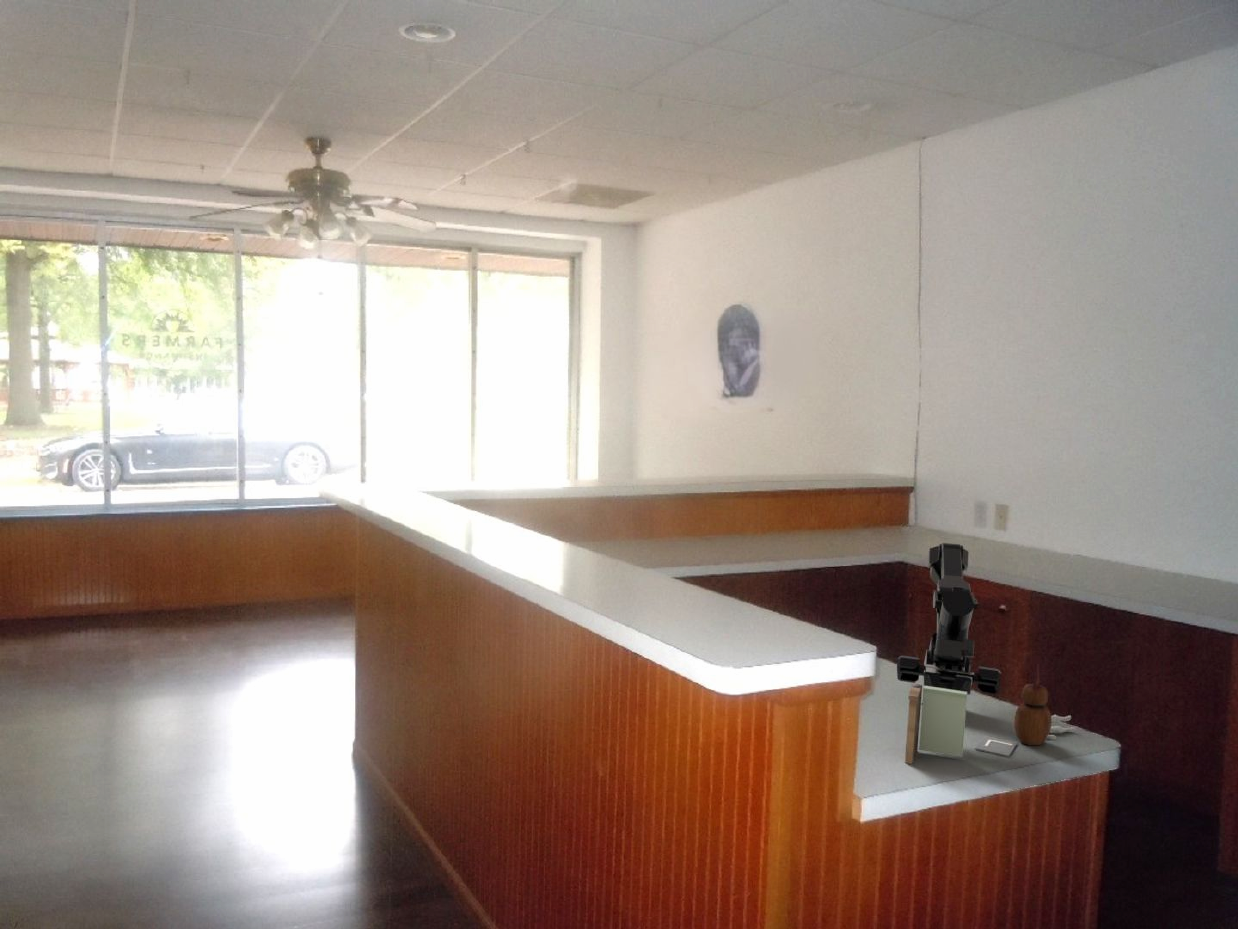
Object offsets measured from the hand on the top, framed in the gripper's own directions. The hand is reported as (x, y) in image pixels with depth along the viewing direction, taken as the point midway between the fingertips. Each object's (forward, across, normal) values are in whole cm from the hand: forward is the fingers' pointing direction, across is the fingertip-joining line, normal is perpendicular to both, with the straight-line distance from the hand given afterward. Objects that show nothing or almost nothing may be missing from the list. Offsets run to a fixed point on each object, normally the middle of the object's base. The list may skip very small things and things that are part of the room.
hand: (943, 715), depth 187 cm
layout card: (+1, +10, +8) cm, 12 cm away
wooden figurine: (-3, +16, +12) cm, 20 cm away
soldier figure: (-8, +18, +18) cm, 27 cm away
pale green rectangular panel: (+7, 0, 0) cm, 7 cm away
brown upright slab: (+10, -5, -1) cm, 11 cm away
